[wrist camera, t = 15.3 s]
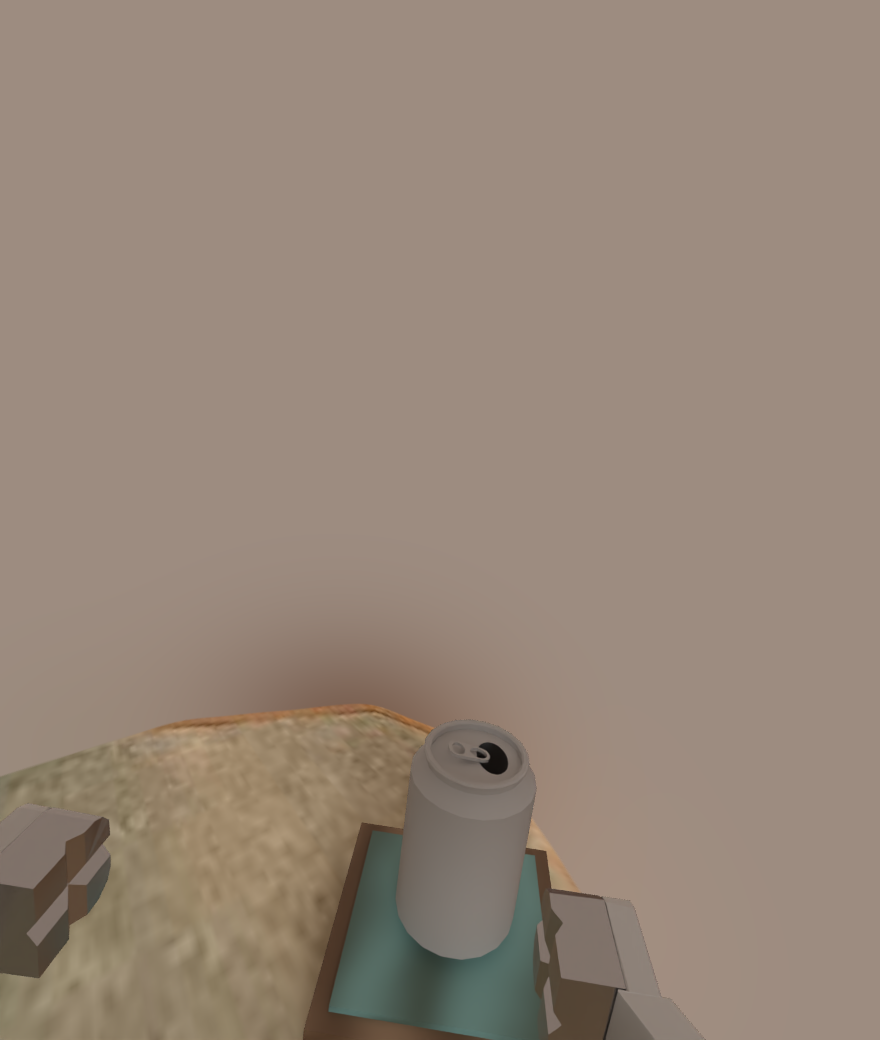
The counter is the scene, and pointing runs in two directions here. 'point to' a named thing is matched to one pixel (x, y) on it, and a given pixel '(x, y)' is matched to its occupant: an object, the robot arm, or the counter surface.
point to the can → (464, 838)
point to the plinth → (421, 963)
